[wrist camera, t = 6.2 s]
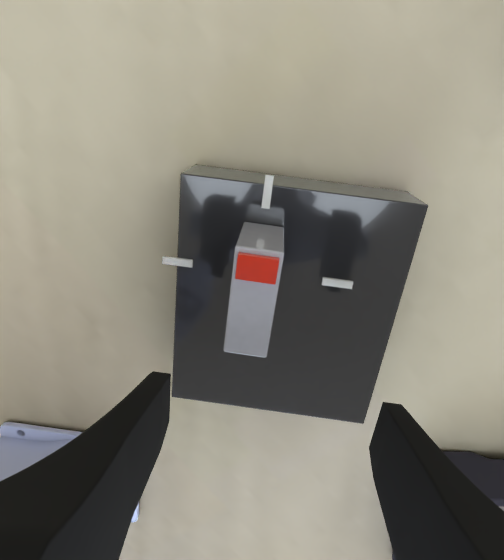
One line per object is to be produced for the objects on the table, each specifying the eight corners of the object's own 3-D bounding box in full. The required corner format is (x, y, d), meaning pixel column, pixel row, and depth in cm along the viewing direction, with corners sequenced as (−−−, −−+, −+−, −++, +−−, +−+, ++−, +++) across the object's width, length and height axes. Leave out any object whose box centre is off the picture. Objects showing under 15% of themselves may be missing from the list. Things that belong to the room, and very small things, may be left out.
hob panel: (173, 363, 24) (159, 397, 21) (182, 154, 19) (164, 161, 16) (354, 388, 24) (364, 426, 21) (410, 183, 19) (432, 196, 16)
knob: (269, 318, 19) (266, 362, 16) (232, 312, 19) (222, 355, 16) (284, 226, 17) (284, 254, 14) (243, 220, 17) (234, 247, 14)
